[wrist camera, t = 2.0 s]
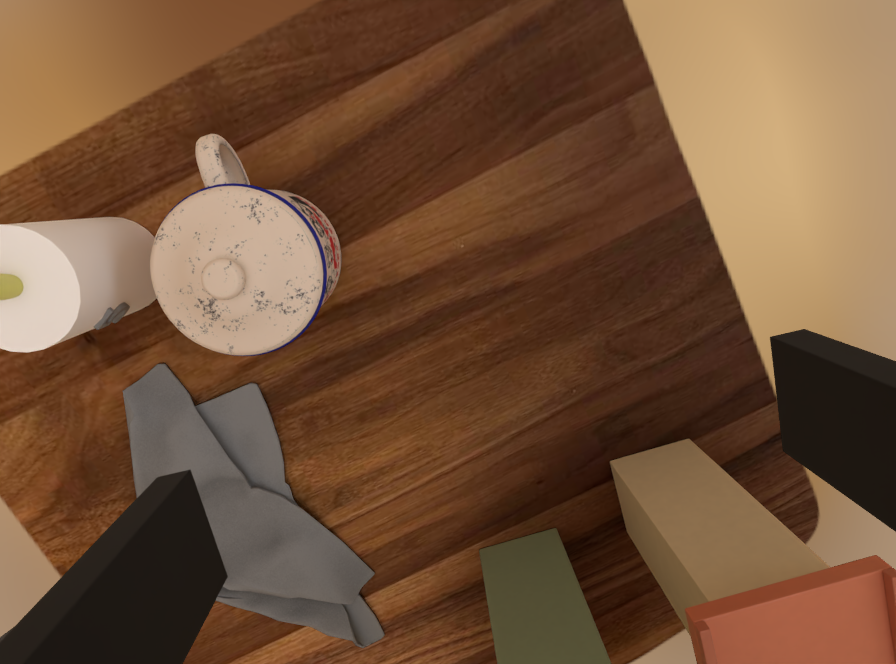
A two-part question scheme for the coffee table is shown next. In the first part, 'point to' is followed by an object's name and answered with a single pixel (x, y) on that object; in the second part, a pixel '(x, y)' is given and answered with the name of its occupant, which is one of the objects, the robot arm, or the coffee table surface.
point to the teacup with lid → (242, 260)
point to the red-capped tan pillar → (748, 569)
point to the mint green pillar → (538, 604)
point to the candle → (70, 278)
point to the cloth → (249, 506)
